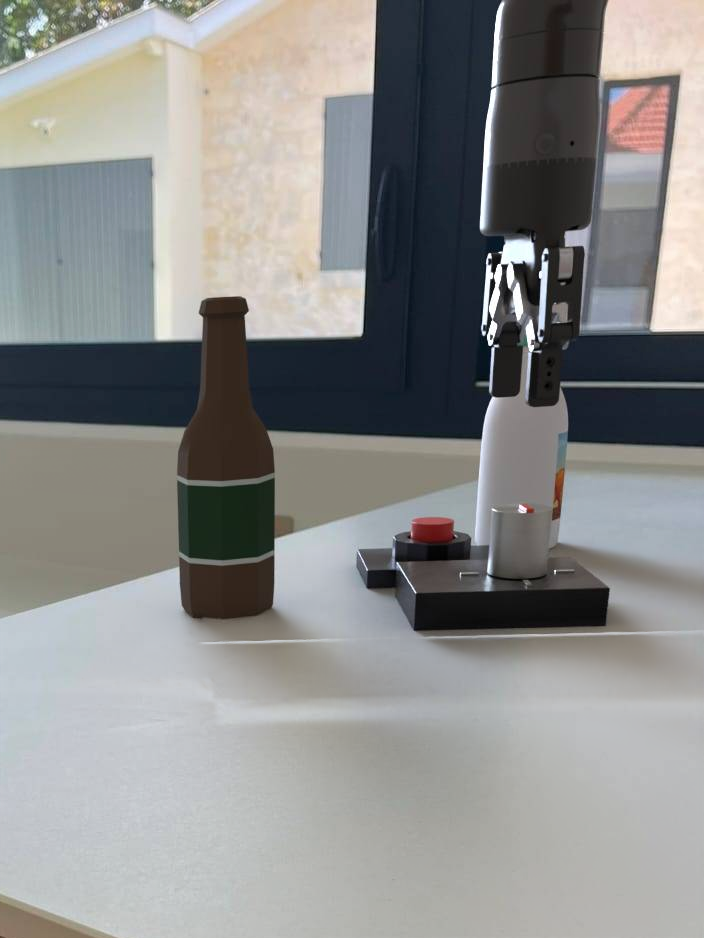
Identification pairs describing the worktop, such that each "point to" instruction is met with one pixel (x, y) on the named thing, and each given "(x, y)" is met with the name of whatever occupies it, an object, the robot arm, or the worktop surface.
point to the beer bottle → (225, 480)
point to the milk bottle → (522, 456)
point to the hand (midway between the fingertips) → (521, 401)
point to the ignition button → (432, 529)
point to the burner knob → (519, 540)
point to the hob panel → (498, 596)
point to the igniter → (413, 556)
